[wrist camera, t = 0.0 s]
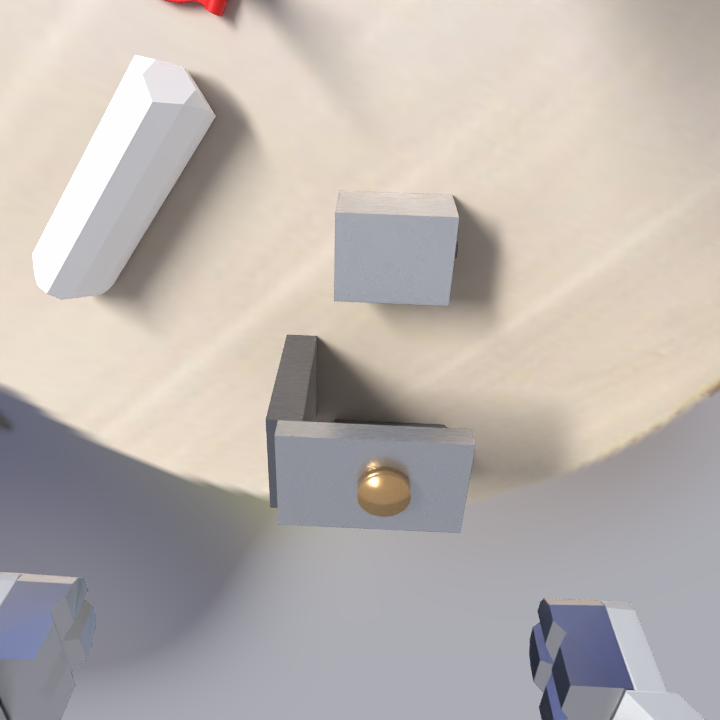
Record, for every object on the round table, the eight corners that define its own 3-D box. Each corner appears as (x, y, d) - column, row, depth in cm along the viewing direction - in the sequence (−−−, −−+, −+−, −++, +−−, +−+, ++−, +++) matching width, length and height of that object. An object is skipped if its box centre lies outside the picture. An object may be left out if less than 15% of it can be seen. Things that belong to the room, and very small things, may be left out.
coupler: (286, 334, 64) (259, 444, 49) (455, 342, 64) (477, 455, 49) (289, 428, 70) (265, 550, 56) (442, 435, 70) (458, 559, 56)
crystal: (108, 327, 60) (241, 116, 49) (27, 309, 55) (156, 70, 44) (97, 276, 64) (218, 72, 54) (22, 255, 59) (138, 25, 49)
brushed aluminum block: (339, 189, 56) (335, 212, 51) (457, 194, 56) (465, 217, 51) (338, 272, 60) (334, 301, 55) (448, 277, 60) (454, 306, 55)
